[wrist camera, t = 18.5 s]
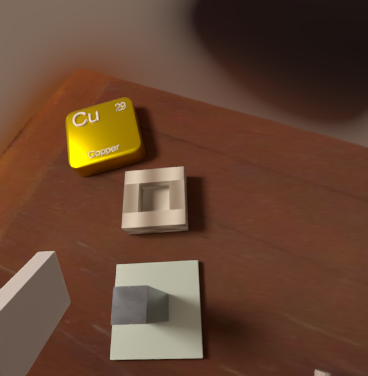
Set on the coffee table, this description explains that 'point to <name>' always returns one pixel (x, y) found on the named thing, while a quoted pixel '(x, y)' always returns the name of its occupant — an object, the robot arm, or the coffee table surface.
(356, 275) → the coffee table surface
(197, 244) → the coffee table surface
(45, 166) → the coffee table surface
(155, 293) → the peg
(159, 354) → the plate
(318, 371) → the pipe connector
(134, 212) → the socket block
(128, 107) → the element tile
